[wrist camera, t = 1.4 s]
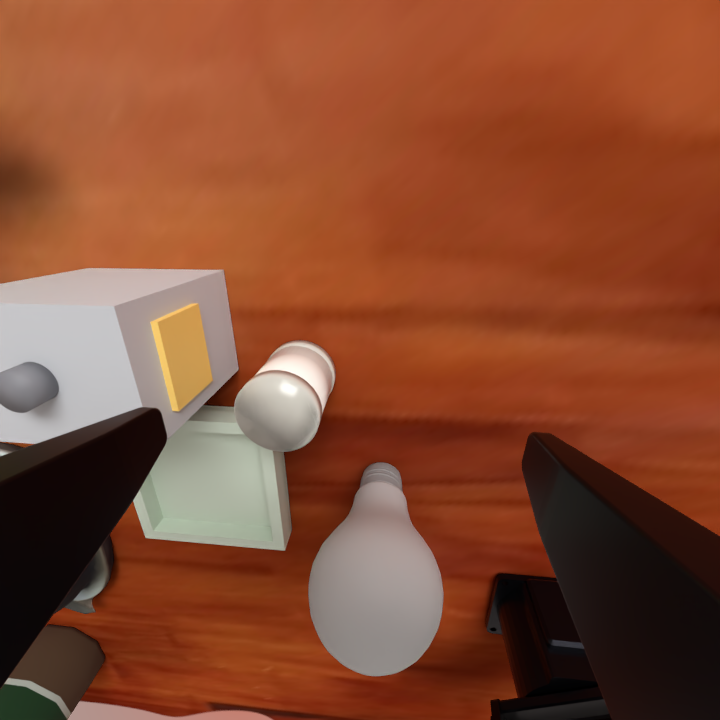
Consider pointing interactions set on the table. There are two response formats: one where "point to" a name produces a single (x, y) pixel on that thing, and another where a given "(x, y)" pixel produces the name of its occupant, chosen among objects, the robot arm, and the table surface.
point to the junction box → (110, 348)
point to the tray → (216, 487)
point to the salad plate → (93, 574)
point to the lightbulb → (376, 582)
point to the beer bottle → (51, 676)
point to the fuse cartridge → (286, 397)
